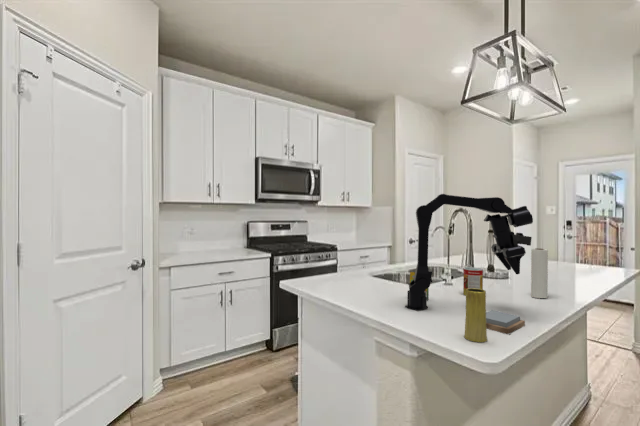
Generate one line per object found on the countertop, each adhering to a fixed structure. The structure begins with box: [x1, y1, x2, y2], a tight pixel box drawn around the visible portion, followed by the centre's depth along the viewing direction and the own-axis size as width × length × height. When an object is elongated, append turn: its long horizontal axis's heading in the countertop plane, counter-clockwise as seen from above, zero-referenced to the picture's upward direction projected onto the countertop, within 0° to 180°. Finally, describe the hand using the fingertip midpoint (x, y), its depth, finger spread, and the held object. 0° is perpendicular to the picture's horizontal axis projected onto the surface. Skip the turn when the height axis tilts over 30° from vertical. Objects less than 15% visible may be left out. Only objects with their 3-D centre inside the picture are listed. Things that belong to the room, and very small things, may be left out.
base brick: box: [486, 319, 526, 335], centre depth 112 cm, size 11×13×2 cm
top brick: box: [486, 309, 521, 328], centre depth 112 cm, size 9×11×2 cm
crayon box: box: [409, 271, 430, 302], centre depth 144 cm, size 7×3×12 cm, turn 60°
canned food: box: [462, 266, 484, 297], centre depth 152 cm, size 8×8×12 cm
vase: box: [463, 288, 488, 343], centre depth 99 cm, size 6×6×14 cm
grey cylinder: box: [530, 247, 549, 299], centre depth 149 cm, size 7×6×21 cm
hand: (513, 271), depth 124 cm, fingers open, 9 cm apart
